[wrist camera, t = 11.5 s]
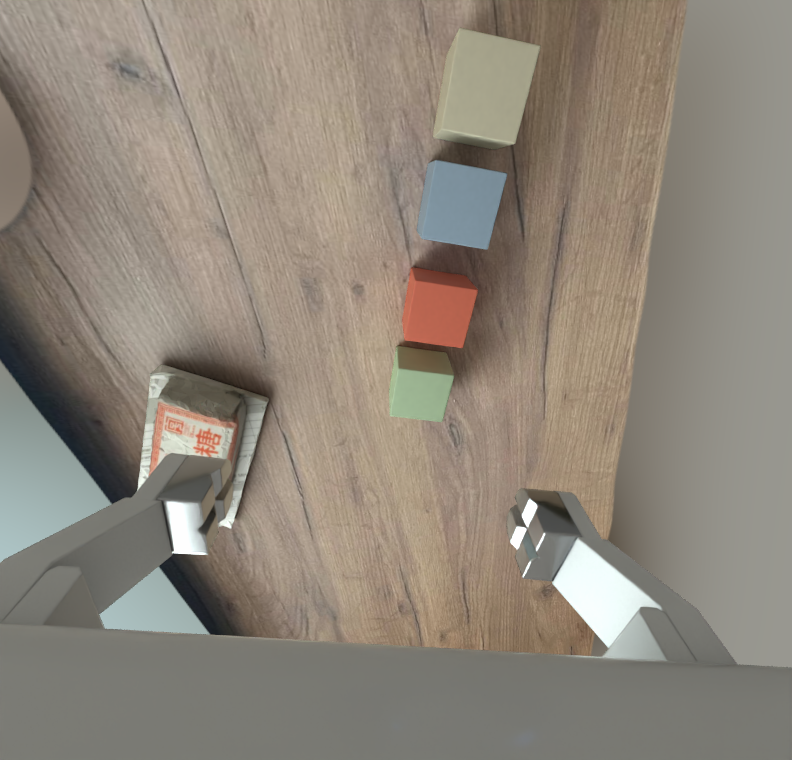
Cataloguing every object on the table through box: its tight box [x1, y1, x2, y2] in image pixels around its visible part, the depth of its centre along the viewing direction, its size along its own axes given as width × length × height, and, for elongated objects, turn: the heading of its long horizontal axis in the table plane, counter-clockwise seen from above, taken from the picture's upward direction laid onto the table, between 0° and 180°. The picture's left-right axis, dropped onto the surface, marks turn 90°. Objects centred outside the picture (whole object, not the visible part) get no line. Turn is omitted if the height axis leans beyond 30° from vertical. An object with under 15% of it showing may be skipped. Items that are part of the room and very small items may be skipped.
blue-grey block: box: [417, 160, 507, 250], centre depth 25 cm, size 4×4×4 cm
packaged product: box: [137, 364, 269, 529], centre depth 35 cm, size 18×5×10 cm
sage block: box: [389, 346, 454, 422], centre depth 32 cm, size 4×4×4 cm
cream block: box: [433, 28, 541, 150], centre depth 22 cm, size 4×4×4 cm
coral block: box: [402, 267, 478, 348], centre depth 28 cm, size 4×4×4 cm
